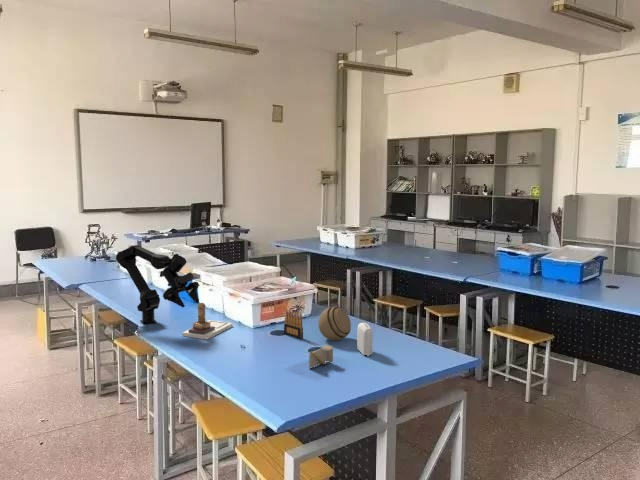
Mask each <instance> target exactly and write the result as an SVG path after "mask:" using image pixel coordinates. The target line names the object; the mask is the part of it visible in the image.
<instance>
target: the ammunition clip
mask: <svg viewBox="0 0 640 480" xmlns="http://www.w3.org/2000/svg"><path fill="white" fill-rule="evenodd" d="M284 315H285V316H284V323H283V335H285V336H288V337H291V338H295V339H298V340H303V339H304V327H303V315H302V312H299V311H297V312H296V310H291V309H290V308H289V309H288V308H286V309H285V313H284Z"/></svg>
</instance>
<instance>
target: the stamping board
mask: <svg viewBox="0 0 640 480" xmlns="http://www.w3.org/2000/svg"><path fill="white" fill-rule="evenodd" d="M206 321H207V322H210V326H213V327H215V329H214V330H212V331H210V332H208V333H206V334H204V335H202V334H195V333H189V329H187V330H185V331H183V332H181V333H182V334H181V335H182V337H189V338H195V339H202V340H209V339H211V338H213V337H215V336H217V335H218V334H221V333H222V332H224V331H227V330H228V329H230V328H232V327H233V326H234V325H233V324H234V323H233V322H225V321H219V320H211V319H208V320H206ZM192 328H193V327H191V328H190V329H192Z"/></svg>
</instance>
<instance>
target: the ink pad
mask: <svg viewBox="0 0 640 480" xmlns="http://www.w3.org/2000/svg"><path fill="white" fill-rule="evenodd" d="M191 328H192V329H191ZM191 328H188V330H189V333H195V334H202V335H204V334H206V333H208V332H210V331H212V330H214V329H215V327H213V326H210V328H209V329H205V330H202V331H200V330H197V329H194V328H193V327H191Z"/></svg>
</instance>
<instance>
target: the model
mask: <svg viewBox="0 0 640 480" xmlns="http://www.w3.org/2000/svg"><path fill="white" fill-rule="evenodd" d="M308 353H309V354H308V369H309V368H311V367H314V366H316V365H318V364H321V363H322V364H321V365H324V364H327V362H326V363H325V361H329V362H333V363H334V348H333V346H330V345H325V346H322V347H321V348H319V349H316V350H314V351H312V350H310V351H309V352H308ZM316 367H317V366H316ZM314 368H315V367H314Z"/></svg>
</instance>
